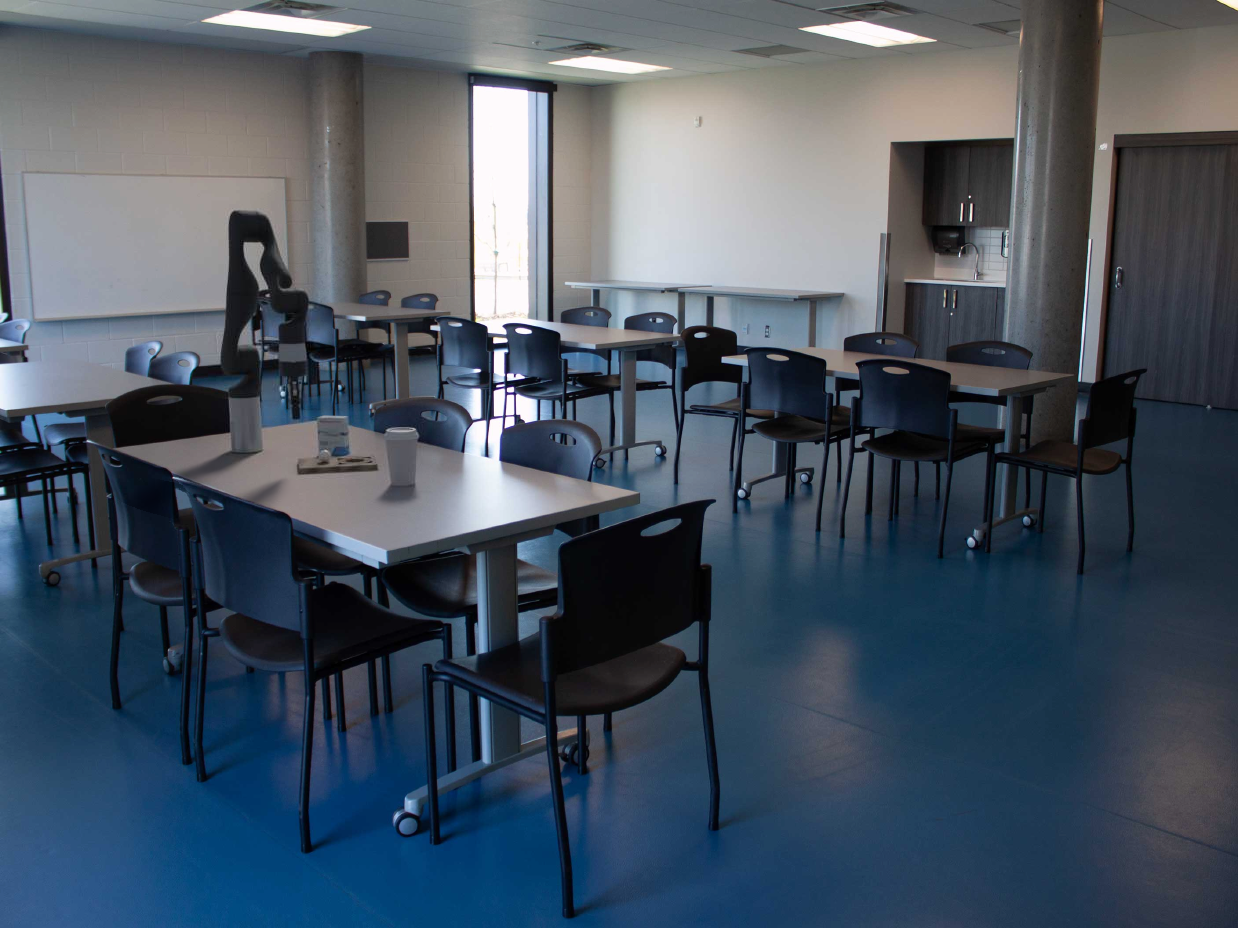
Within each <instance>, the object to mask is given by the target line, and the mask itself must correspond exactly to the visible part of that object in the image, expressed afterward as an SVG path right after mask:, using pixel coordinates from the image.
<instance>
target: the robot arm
mask: <svg viewBox="0 0 1238 928" xmlns="http://www.w3.org/2000/svg"><path fill="white" fill-rule="evenodd" d="M227 228H228V229H227V231H228V269H227V270H228V272H227V283H226V292H225V295H226V296H225V319H224V330H223V334H222V335H223V336H222V341H221V342H222V343H221V349H220V366H221V371H222V373H223V375H226V376H242V375H243V377H242V379H241V380H240V381H239V382H238V383H236V384H233V385H232V386H230V387H229V388H228V389H227V390H228V391H227V394H228V409H229V433H230V447H231V453H232V452H234V453H238V454H247V453H256V452H261V451H263V450H264V446H263V429H262V413H261V411H262V410H261V399H260V398H261V397H260V395H261V394H260V390H261V360H260V359H261V358H260V357H261V356H260V352H259V350H258V348H257V346H255V345H254V344H239V340H240V337H241V334H242V333H243V330H244V329H245V327H246V326H247V324H248V323H249V322H250V321H251V319H252V318H253V317H254V315H255V314H256V311H257V309H258V306H259V298H260V297H259V295H260V286H259V283H258V280H257V278H256V275H255V274H254V272H253V270H252V269H251V267H250V265H249V264H248V262H247V260H246V258H245V257H246V256H245V249H244V247H245V244H244V243H251V244H253V243H254V244H256V243H257V244H258V243H260V244H261V245H262V247H263V252H262V255H261V257H260V261H259V271H260V274H261V276H262V277H263V279H264V280H263V281H264V282H265V284H266V286H267V288H268V289H267V290H268V294H269V305H270V308H271V310H272V311H273V312H275V313H277V314H279V315H287V314H288V315H289V314H292V317H291V319H290V320H287V321H285V322H284V321H283V322H281V323H280V324H278V327H277V330H278V342H279V343H278V361H279V362H278V363H279V375H280V376H281V377H285V378H286V377H287V378H289V381H287V382H286V384H287V390H288V399H290V406H291V415H292V417H291V418H292V420H300V419H301V408H300V407H301V399H302V386H303V385H302V381H299V377H305V376H307V374H308V363H307V362H308V361H307V349H306V348H307V347H306V344H305V342H306V340H305V324H306V318H307V316H308V315H307V314H308V310H309V305H310V298H309V294H308V293H307V291H306V290H304V289H303V288H299V287H298V288H297V287H296V288H291V287H292V284H293V279H292V276H291V274H290V272H289V270H288V268H287V266H286V265H285V263H284V260H283V258H282V256H281V253H280V250H279V246H278V242H277V240H276V235H275V232H274V229H273V225H272V224H271V220H270V219H269V217H268V215H267V213H265V212H263V211H260V210H244V209H243V210H240V209H239V210H238V209H237V210H233V211H232V212H231V213H230V215H229V218H228V227H227Z"/></svg>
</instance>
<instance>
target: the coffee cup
mask: <svg viewBox="0 0 1238 928" xmlns="http://www.w3.org/2000/svg"><path fill="white" fill-rule="evenodd" d="M419 438H420V435H419V432H417V429H416V428H415V427H407V426H406V427H402V426H401V427H390V428H386V430H385V433H384V435H383V440H385V447H386V448H385V449H386V454H387V462H388V472H389V478H390V484H391V486H393V485H394V486H395V487H409V485H410V486H413V485H416V473H417V454H418V453H417V452H418V440H419ZM394 486H393V487H394Z"/></svg>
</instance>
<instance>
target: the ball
mask: <svg viewBox="0 0 1238 928" xmlns="http://www.w3.org/2000/svg"><path fill="white" fill-rule="evenodd" d="M331 457H332V455H331V454H330V452H329V451H327V450H323V451H321V452H320V453H319V452H318V458H319V459H320V460H321V461H322V462H328V461H329V460H330V459H331Z"/></svg>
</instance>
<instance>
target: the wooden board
mask: <svg viewBox="0 0 1238 928" xmlns="http://www.w3.org/2000/svg"><path fill="white" fill-rule="evenodd" d="M297 464H298V473H299V474H317V473H318V474H319V473H337V472H338V473H339V471H340V472H354V471H356V470H359V471H374V470H375V471H376V470H378V469H379V468H378V467H379V464H378V462H377V460H376V458H375V455H374V454H367V455H365V454H363V455H340V456H331V459H330V460H329V461H328V462H322V461H321V460H320V459H319V457H307V458H306V457H303V458H301V457H299V458H297Z"/></svg>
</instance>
